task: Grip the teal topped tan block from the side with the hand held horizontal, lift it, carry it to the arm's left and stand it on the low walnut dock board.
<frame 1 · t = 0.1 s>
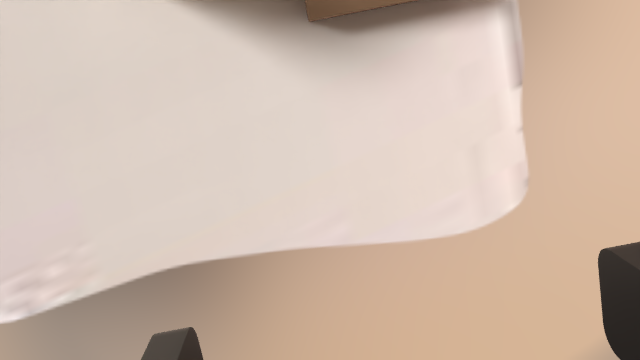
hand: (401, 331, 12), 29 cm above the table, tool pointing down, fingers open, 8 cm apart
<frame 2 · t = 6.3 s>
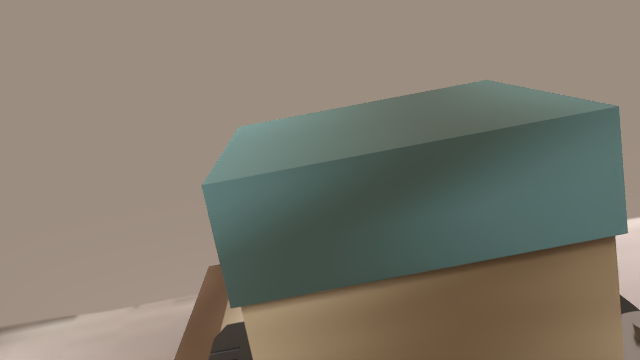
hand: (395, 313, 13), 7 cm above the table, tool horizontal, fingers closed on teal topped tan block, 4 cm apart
dock: (377, 342, 25), on the table
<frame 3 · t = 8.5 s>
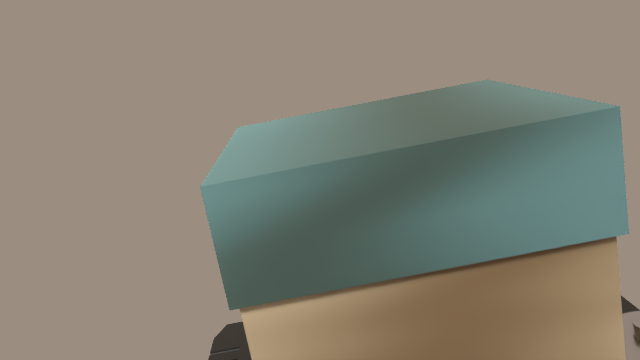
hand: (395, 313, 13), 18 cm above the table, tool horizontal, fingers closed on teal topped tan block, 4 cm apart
when the fingers open (10 cm above the table, at t = 10.5 s): teal topped tan block stays where it is, resting on dock.
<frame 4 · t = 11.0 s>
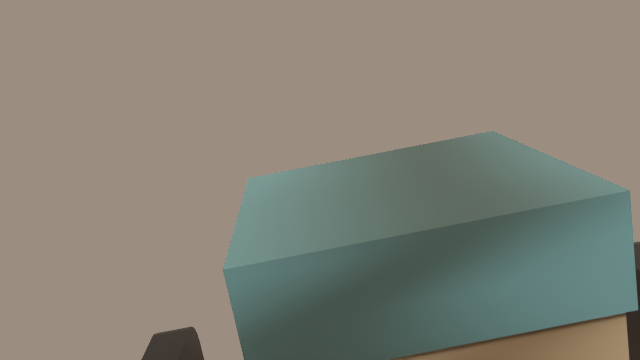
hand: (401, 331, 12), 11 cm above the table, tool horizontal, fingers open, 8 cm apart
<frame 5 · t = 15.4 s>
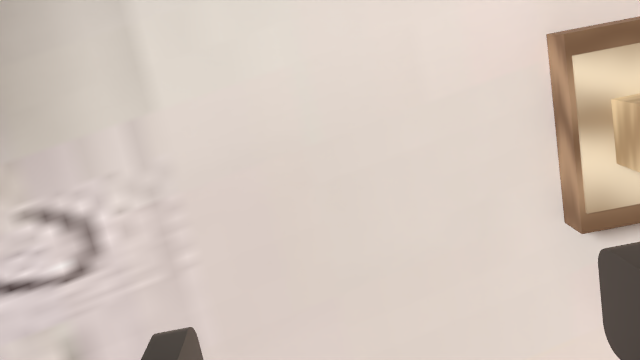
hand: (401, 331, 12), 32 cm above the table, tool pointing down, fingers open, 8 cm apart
dock: (623, 118, 44), on the table
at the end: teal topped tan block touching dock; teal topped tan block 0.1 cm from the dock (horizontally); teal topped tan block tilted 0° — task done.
